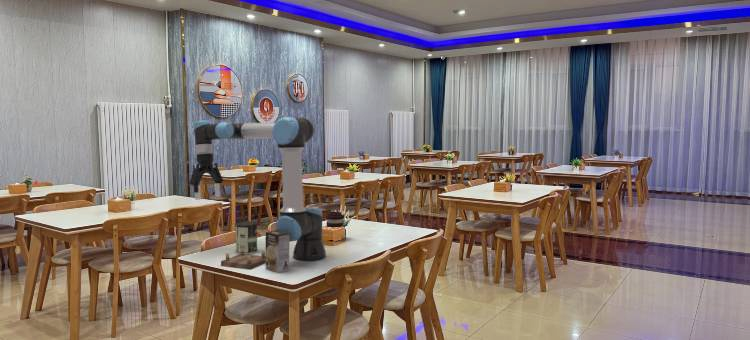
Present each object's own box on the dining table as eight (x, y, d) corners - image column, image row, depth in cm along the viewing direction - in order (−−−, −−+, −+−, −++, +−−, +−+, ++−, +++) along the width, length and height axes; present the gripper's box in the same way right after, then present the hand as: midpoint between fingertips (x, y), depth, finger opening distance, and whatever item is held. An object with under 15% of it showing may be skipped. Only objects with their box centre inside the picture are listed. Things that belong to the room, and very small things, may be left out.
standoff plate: (269, 261, 238) (269, 250, 238) (250, 269, 224) (250, 257, 224) (241, 257, 243) (241, 247, 243) (220, 265, 229) (220, 254, 229)
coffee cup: (326, 242, 278) (326, 214, 277) (324, 238, 288) (324, 211, 287) (345, 241, 280) (345, 213, 279) (342, 237, 290) (342, 210, 289)
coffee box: (264, 269, 225) (264, 231, 224) (276, 266, 230) (276, 229, 229) (278, 273, 219) (278, 235, 218) (290, 270, 224) (290, 232, 223)
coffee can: (256, 249, 261) (256, 220, 260) (258, 253, 251) (258, 224, 250) (234, 250, 258) (234, 221, 257) (236, 255, 248) (235, 225, 247)
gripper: (216, 153, 263) (219, 196, 264) (179, 154, 240) (183, 201, 241) (228, 152, 260) (231, 195, 261) (191, 153, 237) (195, 200, 238)
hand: (208, 198), depth 251 cm, fingers open, 13 cm apart
